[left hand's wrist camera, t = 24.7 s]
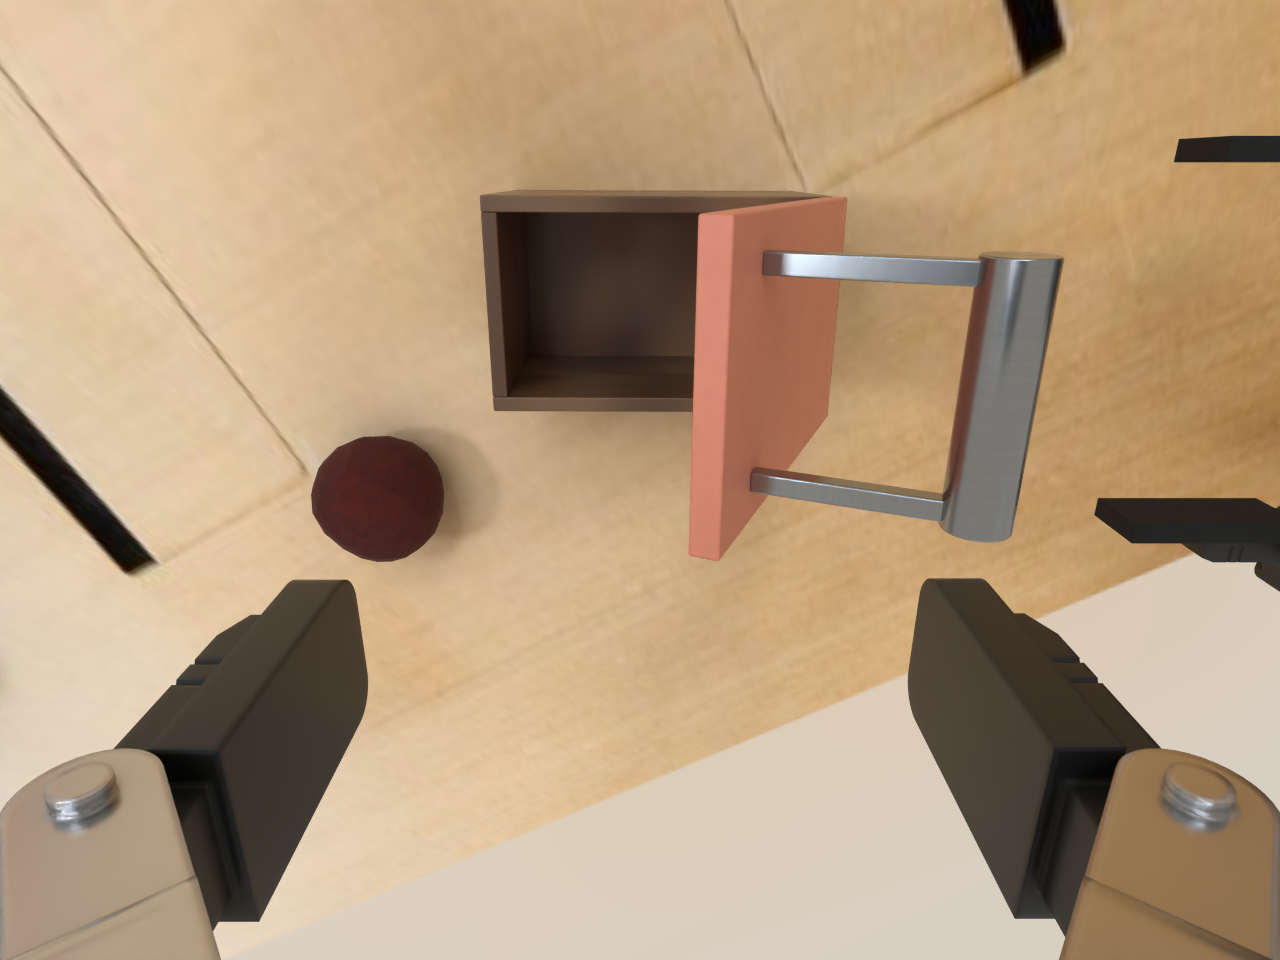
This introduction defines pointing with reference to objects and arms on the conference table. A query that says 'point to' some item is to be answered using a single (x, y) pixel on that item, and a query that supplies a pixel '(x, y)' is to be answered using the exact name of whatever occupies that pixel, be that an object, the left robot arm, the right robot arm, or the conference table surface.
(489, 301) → the chest
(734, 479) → the lid
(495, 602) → the conference table surface
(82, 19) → the conference table surface
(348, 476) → the dark red ball
